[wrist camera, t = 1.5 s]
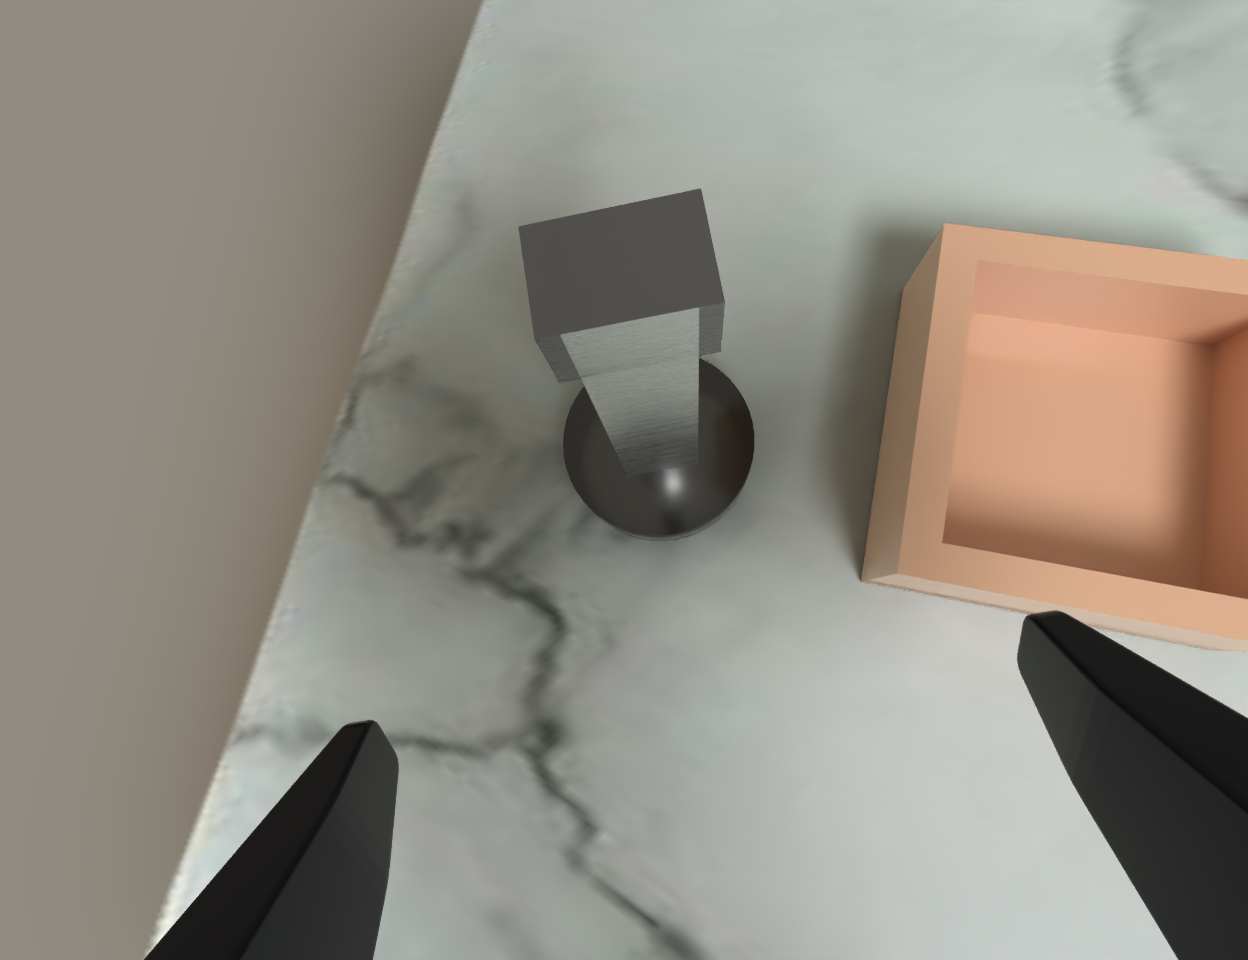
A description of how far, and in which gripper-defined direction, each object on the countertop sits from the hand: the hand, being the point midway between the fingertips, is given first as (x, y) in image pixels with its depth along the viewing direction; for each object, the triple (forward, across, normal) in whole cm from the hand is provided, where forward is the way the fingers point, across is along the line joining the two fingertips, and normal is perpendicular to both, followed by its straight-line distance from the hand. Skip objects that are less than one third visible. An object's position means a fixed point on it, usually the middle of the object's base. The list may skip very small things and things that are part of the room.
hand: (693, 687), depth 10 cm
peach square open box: (+12, -12, +6) cm, 18 cm away
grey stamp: (+13, 0, +4) cm, 14 cm away
